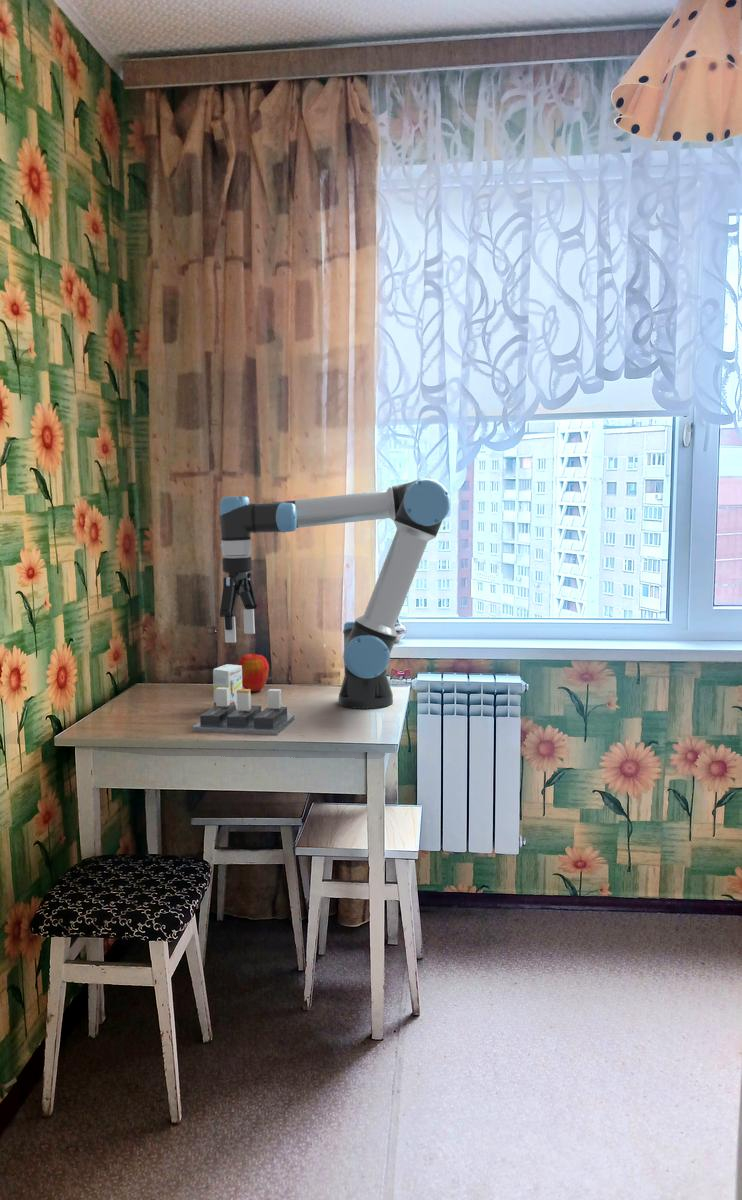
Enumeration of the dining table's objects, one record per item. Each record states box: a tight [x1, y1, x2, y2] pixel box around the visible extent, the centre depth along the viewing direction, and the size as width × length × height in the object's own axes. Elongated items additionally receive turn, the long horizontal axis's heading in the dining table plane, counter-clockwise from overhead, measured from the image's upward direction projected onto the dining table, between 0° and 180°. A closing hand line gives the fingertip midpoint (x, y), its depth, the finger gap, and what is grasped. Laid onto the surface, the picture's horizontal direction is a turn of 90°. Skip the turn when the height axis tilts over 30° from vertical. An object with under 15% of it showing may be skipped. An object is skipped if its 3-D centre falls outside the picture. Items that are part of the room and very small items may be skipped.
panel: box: [191, 704, 296, 736], centre depth 232 cm, size 22×15×4 cm
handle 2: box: [267, 688, 283, 708], centre depth 234 cm, size 3×2×4 cm, turn 78°
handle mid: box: [237, 688, 252, 711], centre depth 232 cm, size 3×2×5 cm, turn 78°
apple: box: [237, 651, 270, 692], centre depth 270 cm, size 9×9×12 cm
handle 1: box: [216, 687, 230, 706], centre depth 237 cm, size 3×2×4 cm, turn 78°
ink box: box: [212, 663, 243, 710], centre depth 248 cm, size 9×5×12 cm, turn 161°
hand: (240, 637), depth 238 cm, fingers open, 13 cm apart
